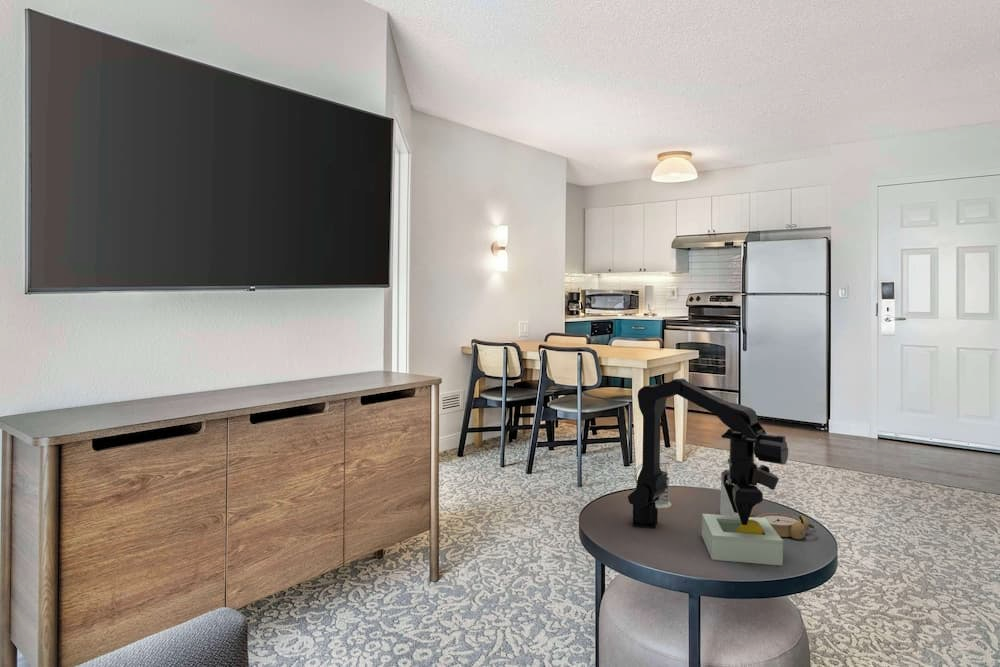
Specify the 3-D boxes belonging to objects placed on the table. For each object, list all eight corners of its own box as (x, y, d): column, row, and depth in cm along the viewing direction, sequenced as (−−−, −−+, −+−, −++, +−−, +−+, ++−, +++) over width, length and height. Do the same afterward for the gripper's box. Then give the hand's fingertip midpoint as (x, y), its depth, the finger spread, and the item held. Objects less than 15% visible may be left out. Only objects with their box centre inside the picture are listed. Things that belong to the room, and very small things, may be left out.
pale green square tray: (711, 559, 142) (712, 535, 142) (701, 535, 158) (702, 513, 157) (782, 565, 139) (783, 540, 139) (764, 540, 155) (765, 518, 154)
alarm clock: (761, 511, 170) (818, 513, 161) (764, 528, 170) (821, 531, 160) (750, 521, 161) (809, 524, 152) (753, 539, 161) (813, 543, 152)
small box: (738, 520, 170) (739, 476, 170) (719, 514, 175) (720, 471, 175) (754, 515, 175) (755, 472, 174) (734, 509, 180) (735, 467, 179)
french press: (676, 508, 180) (677, 427, 180) (638, 508, 180) (640, 427, 179) (666, 498, 190) (667, 422, 189) (631, 498, 190) (632, 421, 189)
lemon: (751, 556, 145) (770, 536, 141) (731, 545, 146) (749, 526, 142) (749, 539, 150) (767, 520, 146) (729, 529, 151) (747, 510, 146)
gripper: (786, 468, 137) (785, 534, 137) (765, 451, 155) (764, 509, 156) (736, 465, 139) (735, 530, 139) (721, 448, 157) (720, 506, 158)
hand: (740, 518), depth 148 cm, fingers open, 9 cm apart
